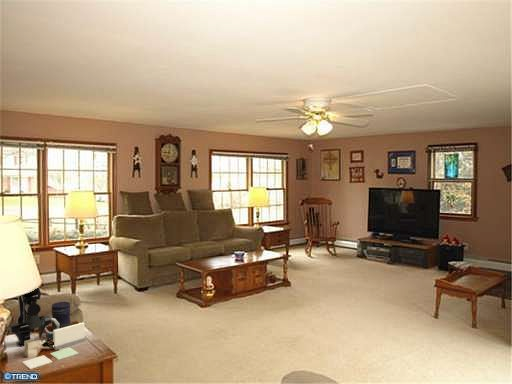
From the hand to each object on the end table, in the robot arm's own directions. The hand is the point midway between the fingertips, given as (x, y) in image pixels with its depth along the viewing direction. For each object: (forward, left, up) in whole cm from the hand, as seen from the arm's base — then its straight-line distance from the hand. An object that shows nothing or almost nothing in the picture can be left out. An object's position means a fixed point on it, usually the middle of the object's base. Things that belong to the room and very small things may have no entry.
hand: (30, 340), depth 210 cm
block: (0, 0, -7) cm, 7 cm away
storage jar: (-23, +25, -8) cm, 35 cm away
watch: (-14, +16, -8) cm, 22 cm away
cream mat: (+11, -1, -7) cm, 13 cm away
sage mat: (+11, +12, -7) cm, 18 cm away
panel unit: (-3, +19, -7) cm, 21 cm away
